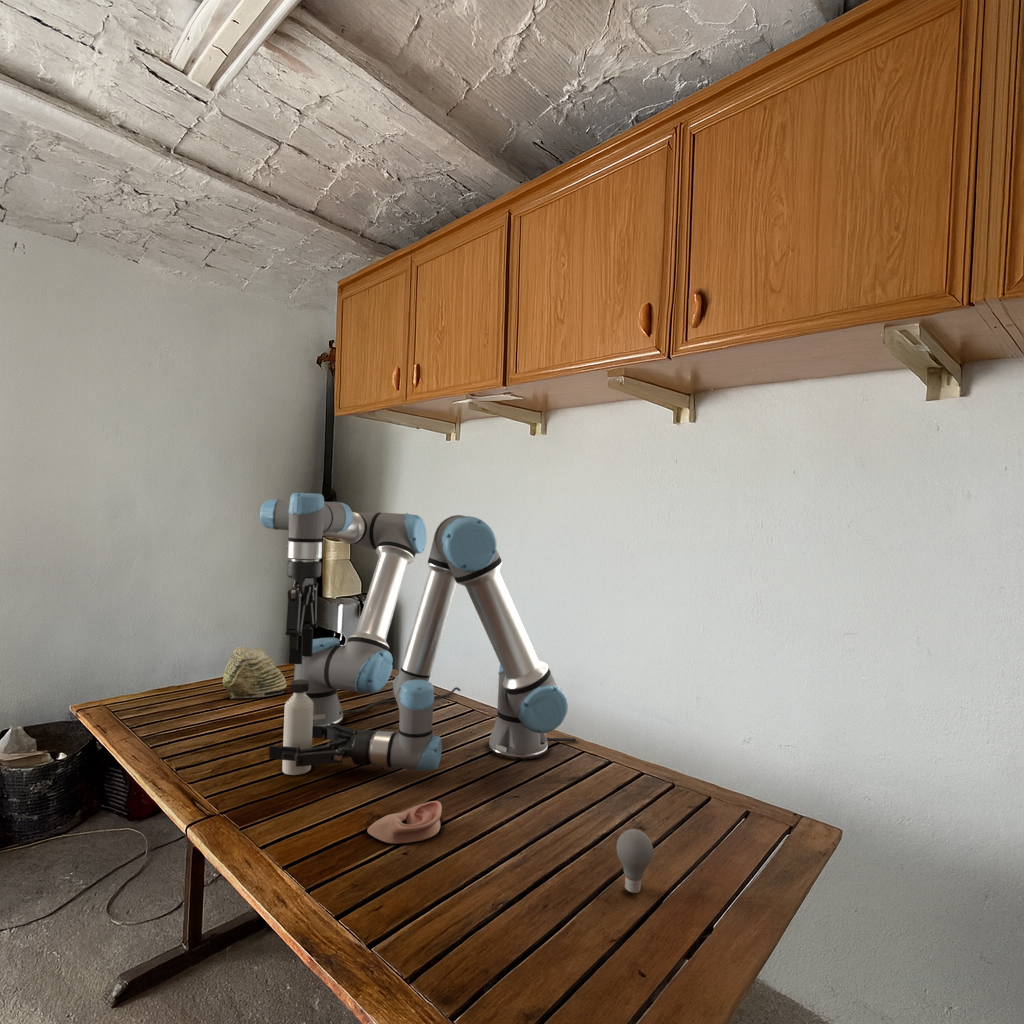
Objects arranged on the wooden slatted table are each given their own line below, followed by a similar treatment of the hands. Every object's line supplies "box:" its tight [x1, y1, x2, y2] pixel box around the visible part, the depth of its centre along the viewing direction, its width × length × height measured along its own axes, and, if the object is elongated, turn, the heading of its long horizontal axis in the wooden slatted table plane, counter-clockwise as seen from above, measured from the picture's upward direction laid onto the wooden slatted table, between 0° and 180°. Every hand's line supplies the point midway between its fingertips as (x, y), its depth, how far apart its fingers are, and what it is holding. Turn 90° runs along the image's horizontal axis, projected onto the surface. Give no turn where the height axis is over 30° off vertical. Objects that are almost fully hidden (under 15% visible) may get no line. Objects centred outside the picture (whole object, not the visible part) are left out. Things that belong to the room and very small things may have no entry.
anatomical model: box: [366, 800, 443, 845], centre depth 122 cm, size 13×4×12 cm
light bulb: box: [615, 828, 654, 894], centre depth 106 cm, size 6×6×10 cm
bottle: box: [281, 692, 313, 776], centre depth 146 cm, size 6×6×20 cm
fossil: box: [222, 646, 288, 699], centre depth 198 cm, size 9×18×15 cm, turn 132°
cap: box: [290, 679, 309, 693], centre depth 146 cm, size 4×4×2 cm
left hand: (300, 659), depth 146 cm, fingers open, 6 cm apart
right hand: (283, 740), depth 147 cm, fingers open, 13 cm apart
